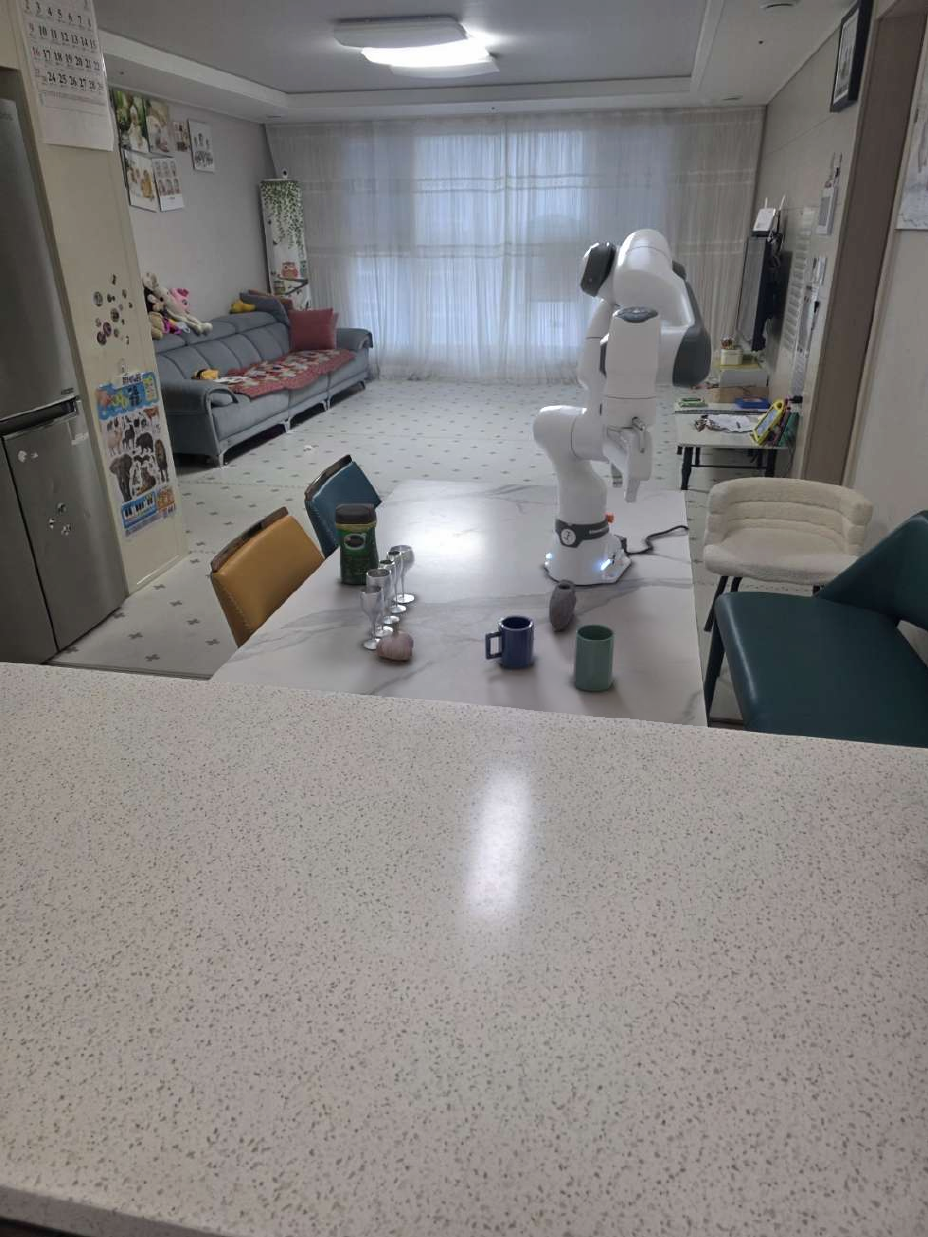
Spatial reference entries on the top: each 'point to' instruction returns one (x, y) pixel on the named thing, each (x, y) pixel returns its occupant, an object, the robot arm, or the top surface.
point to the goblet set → (386, 590)
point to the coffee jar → (356, 541)
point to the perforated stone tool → (562, 604)
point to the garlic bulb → (395, 644)
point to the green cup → (593, 657)
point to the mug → (512, 642)
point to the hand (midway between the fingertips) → (622, 493)
